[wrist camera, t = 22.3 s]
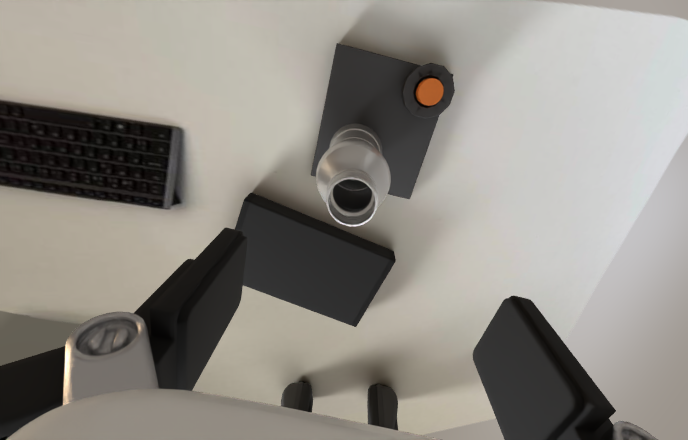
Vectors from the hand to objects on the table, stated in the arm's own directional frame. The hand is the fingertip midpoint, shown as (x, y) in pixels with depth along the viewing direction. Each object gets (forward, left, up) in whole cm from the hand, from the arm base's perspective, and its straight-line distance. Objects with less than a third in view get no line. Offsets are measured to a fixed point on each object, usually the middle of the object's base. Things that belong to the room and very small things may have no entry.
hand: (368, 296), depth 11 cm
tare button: (-8, +6, -30) cm, 31 cm away
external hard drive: (+20, -4, -32) cm, 38 cm away
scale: (-2, +1, -32) cm, 32 cm away
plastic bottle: (+1, -1, -31) cm, 31 cm away
